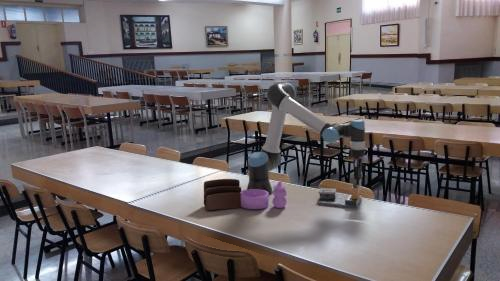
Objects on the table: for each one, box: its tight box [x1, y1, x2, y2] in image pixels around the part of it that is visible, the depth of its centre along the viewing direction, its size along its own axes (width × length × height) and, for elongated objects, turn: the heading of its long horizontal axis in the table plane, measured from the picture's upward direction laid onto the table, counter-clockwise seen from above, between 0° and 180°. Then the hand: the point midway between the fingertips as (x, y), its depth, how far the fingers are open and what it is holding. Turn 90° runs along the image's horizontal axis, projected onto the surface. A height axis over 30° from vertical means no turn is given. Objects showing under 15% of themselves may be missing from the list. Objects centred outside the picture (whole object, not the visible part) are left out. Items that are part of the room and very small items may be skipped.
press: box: [317, 194, 363, 210], centre depth 218 cm, size 20×15×4 cm
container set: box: [240, 181, 288, 210], centre depth 217 cm, size 25×15×13 cm, turn 77°
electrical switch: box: [317, 188, 337, 199], centre depth 224 cm, size 9×5×9 cm
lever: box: [350, 183, 360, 199], centre depth 218 cm, size 3×3×8 cm
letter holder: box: [203, 178, 244, 211], centre depth 218 cm, size 10×20×14 cm, turn 104°
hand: (358, 190), depth 225 cm, fingers closed
